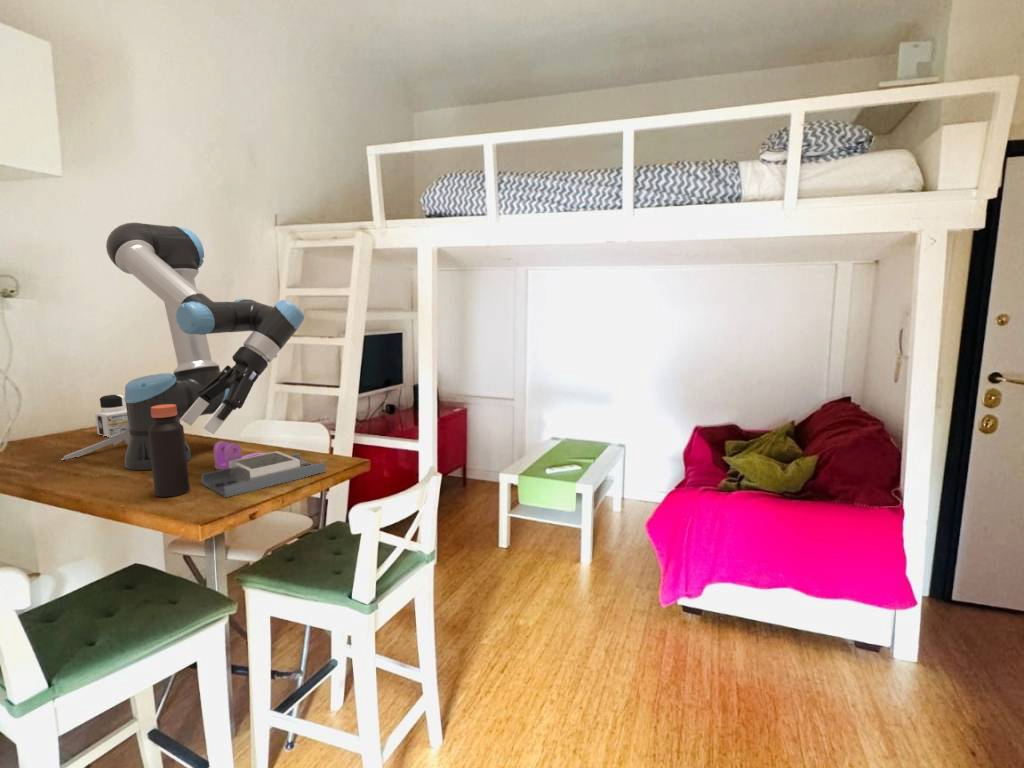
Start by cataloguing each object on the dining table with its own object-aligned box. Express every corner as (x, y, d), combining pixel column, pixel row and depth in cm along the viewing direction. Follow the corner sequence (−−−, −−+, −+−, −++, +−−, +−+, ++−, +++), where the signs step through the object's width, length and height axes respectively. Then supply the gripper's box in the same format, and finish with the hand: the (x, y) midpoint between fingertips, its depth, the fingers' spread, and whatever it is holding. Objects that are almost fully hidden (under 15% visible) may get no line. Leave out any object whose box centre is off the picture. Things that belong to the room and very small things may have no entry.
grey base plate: (202, 484, 133) (200, 465, 133) (298, 462, 151) (297, 445, 150) (225, 497, 124) (223, 478, 123) (325, 472, 141) (324, 455, 141)
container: (109, 438, 180) (104, 398, 178) (97, 435, 183) (92, 396, 182) (135, 433, 186) (130, 394, 184) (123, 430, 190) (118, 392, 188)
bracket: (229, 472, 143) (227, 445, 142) (215, 469, 146) (213, 443, 145) (272, 459, 154) (270, 434, 153) (258, 456, 157) (256, 432, 156)
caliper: (135, 444, 172) (133, 424, 171) (137, 445, 172) (135, 425, 171) (59, 462, 154) (56, 439, 153) (61, 462, 153) (58, 440, 153)
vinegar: (195, 487, 131) (187, 403, 128) (180, 497, 124) (170, 408, 121) (165, 488, 131) (156, 403, 128) (148, 498, 124) (138, 409, 121)
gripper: (291, 367, 131) (232, 443, 123) (245, 361, 148) (190, 427, 139) (267, 347, 127) (203, 424, 118) (222, 342, 143) (163, 410, 134)
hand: (196, 426), depth 129 cm, fingers open, 13 cm apart
